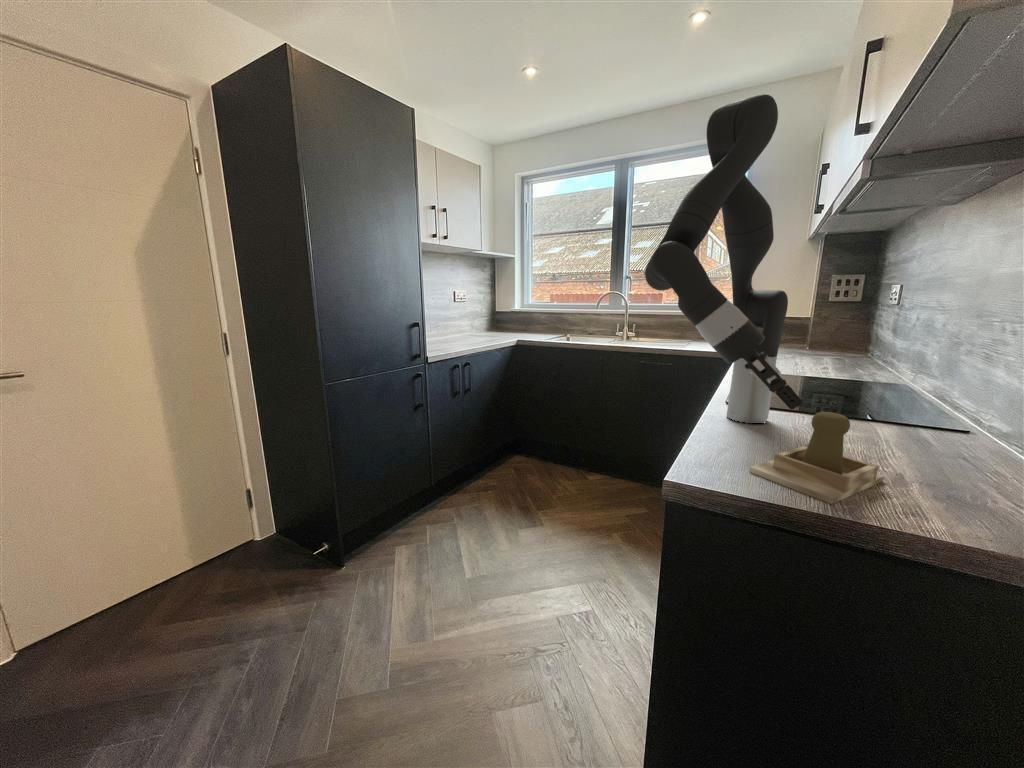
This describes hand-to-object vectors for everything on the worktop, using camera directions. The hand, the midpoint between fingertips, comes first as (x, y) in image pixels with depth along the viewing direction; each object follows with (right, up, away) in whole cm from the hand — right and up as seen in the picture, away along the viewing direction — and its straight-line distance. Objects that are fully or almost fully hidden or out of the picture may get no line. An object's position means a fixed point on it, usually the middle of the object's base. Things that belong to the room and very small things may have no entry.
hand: (793, 400), depth 71 cm
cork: (+5, -13, 0) cm, 14 cm away
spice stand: (+5, -14, +1) cm, 15 cm away
